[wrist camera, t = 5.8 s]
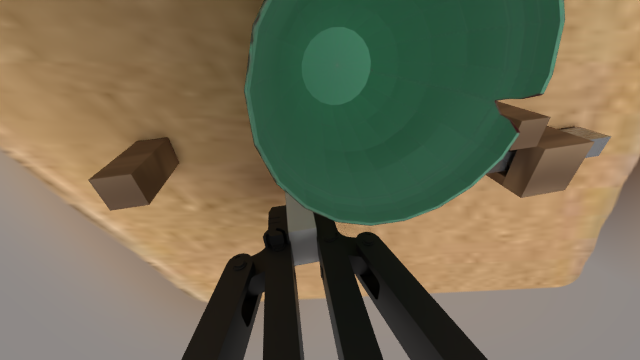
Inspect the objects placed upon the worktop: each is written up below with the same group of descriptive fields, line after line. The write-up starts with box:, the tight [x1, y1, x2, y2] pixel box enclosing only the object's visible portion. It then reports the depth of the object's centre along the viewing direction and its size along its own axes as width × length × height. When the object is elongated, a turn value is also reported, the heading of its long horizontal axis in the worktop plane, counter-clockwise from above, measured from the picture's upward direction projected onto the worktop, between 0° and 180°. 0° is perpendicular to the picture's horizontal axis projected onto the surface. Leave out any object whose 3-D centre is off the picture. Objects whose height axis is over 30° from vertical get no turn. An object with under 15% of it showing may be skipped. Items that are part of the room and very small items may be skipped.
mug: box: [244, 0, 565, 226], centre depth 10 cm, size 15×10×10 cm
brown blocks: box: [89, 101, 594, 211], centre depth 17 cm, size 7×32×5 cm, turn 94°
